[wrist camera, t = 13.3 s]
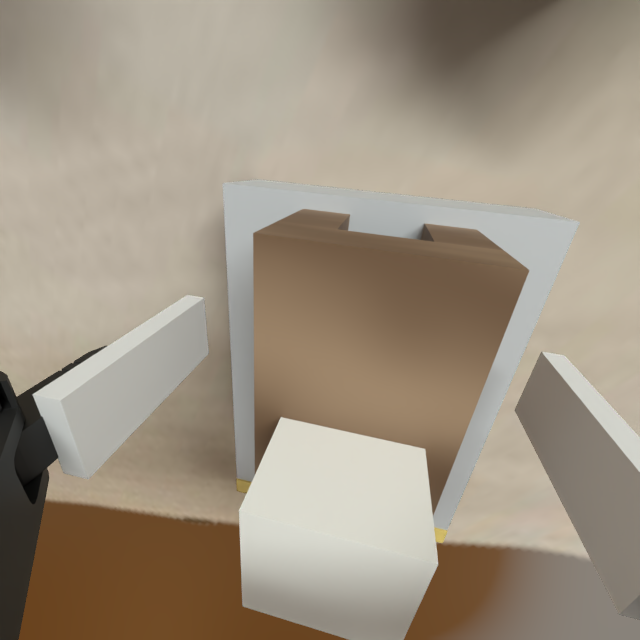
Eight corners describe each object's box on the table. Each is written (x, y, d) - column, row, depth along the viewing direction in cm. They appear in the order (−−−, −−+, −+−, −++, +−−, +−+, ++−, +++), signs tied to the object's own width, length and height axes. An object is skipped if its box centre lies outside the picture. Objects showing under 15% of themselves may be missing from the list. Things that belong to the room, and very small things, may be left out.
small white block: (276, 506, 14) (242, 606, 11) (280, 417, 11) (239, 510, 8) (395, 537, 13) (396, 654, 10) (425, 448, 11) (438, 563, 8)
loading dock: (258, 446, 26) (236, 490, 23) (257, 179, 17) (221, 183, 14) (435, 486, 24) (442, 543, 21) (537, 208, 15) (581, 222, 12)
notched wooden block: (397, 495, 20) (399, 602, 15) (287, 468, 21) (255, 561, 16) (476, 229, 13) (529, 270, 8) (303, 208, 14) (253, 233, 9)
